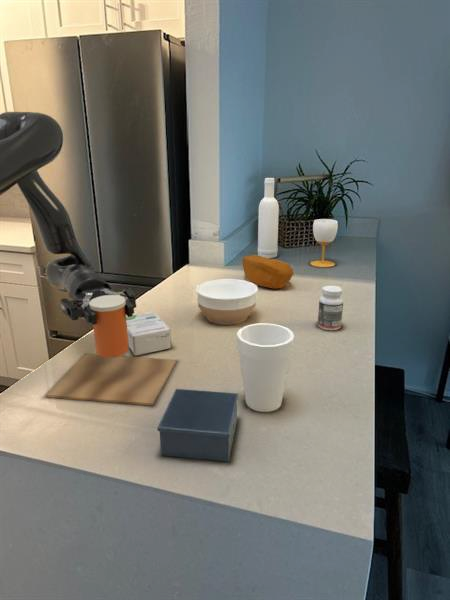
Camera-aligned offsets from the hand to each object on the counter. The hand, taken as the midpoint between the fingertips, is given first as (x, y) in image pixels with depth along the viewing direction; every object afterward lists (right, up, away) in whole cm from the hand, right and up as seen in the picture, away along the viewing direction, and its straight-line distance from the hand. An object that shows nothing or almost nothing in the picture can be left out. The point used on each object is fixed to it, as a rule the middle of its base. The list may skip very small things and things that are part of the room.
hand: (112, 315), depth 77 cm
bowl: (+21, -2, +36) cm, 42 cm away
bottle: (+37, +20, +95) cm, 104 cm away
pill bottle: (+46, -4, +30) cm, 55 cm away
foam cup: (+27, -15, -1) cm, 31 cm away
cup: (+56, +16, +83) cm, 102 cm away
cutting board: (-1, -12, +7) cm, 14 cm away
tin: (+16, -18, -10) cm, 27 cm away
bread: (+34, +9, +63) cm, 73 cm away
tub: (-1, -7, +5) cm, 8 cm away
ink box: (-1, -3, +26) cm, 26 cm away
